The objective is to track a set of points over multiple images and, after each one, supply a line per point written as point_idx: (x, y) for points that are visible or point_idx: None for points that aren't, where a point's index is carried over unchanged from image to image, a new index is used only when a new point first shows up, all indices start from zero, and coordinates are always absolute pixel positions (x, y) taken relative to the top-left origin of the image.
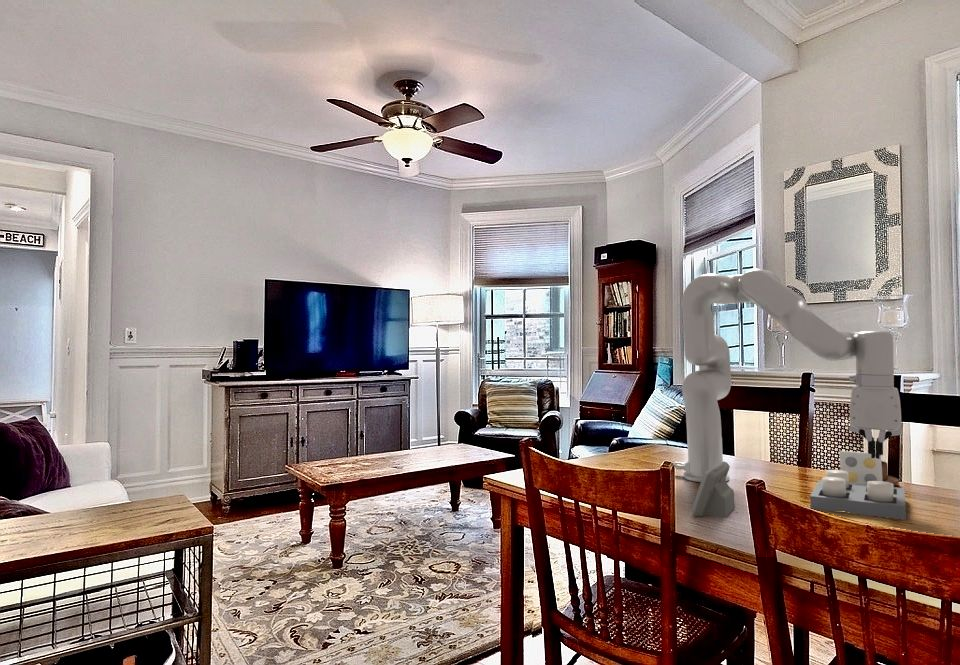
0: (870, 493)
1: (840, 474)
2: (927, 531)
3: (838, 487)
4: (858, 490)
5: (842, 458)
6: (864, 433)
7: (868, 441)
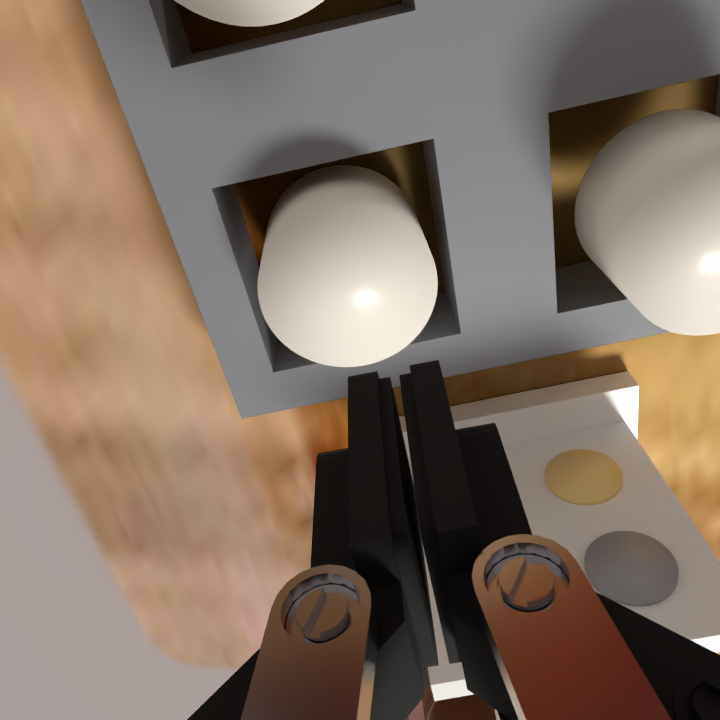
0: None
1: (692, 160)
2: None
3: None
4: (490, 133)
5: (705, 575)
6: (654, 689)
7: (528, 557)
